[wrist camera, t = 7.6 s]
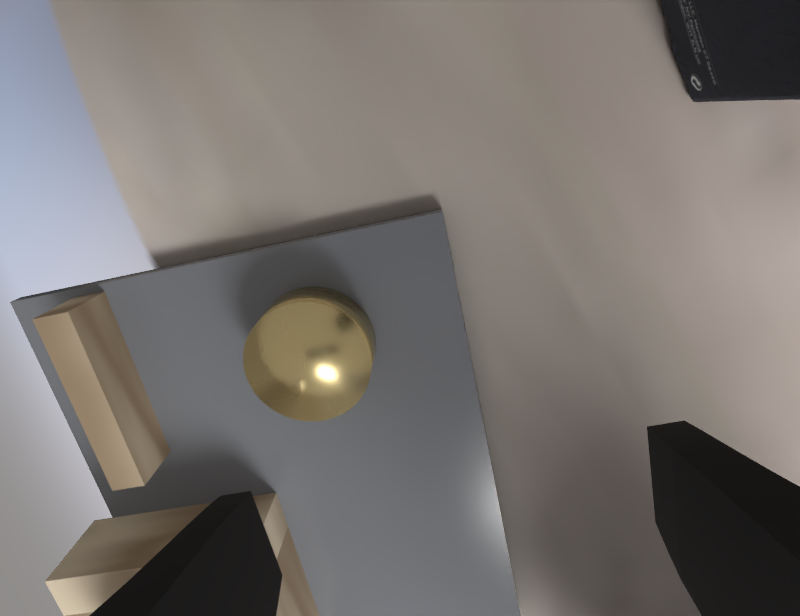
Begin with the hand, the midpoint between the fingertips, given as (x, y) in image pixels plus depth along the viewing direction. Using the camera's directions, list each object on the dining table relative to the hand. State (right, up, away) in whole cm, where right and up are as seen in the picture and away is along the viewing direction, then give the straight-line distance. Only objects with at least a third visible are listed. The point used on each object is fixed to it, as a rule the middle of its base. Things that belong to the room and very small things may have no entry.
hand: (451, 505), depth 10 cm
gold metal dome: (-4, +2, +9) cm, 10 cm away
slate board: (-5, -3, +11) cm, 13 cm away
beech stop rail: (-11, +1, +10) cm, 14 cm away
